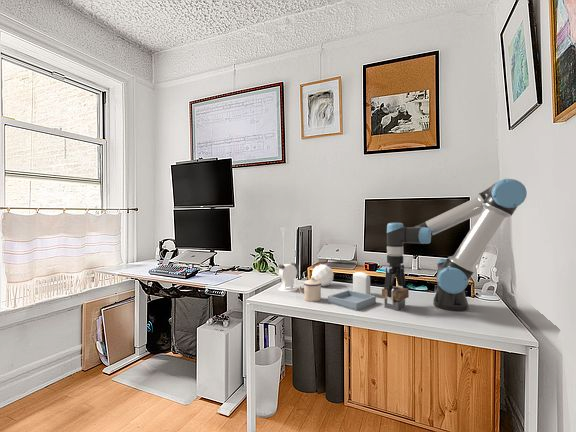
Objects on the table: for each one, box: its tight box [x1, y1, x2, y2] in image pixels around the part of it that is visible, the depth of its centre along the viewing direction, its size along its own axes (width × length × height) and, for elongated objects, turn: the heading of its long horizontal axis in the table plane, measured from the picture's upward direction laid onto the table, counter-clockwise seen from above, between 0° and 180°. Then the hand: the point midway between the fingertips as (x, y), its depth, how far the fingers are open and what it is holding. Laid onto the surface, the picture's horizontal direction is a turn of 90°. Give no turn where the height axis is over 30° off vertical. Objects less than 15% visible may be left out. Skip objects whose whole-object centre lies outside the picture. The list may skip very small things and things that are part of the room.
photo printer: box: [352, 271, 371, 295], centre depth 175 cm, size 10×4×12 cm, turn 39°
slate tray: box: [327, 289, 377, 312], centre depth 159 cm, size 17×17×4 cm
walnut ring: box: [381, 287, 410, 301], centre depth 153 cm, size 10×9×4 cm
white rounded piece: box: [277, 262, 298, 293], centre depth 187 cm, size 12×11×15 cm
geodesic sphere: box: [311, 263, 335, 287], centre depth 195 cm, size 14×14×14 cm
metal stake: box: [384, 285, 406, 311], centre depth 152 cm, size 7×7×10 cm
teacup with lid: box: [298, 276, 322, 303], centre depth 167 cm, size 12×9×12 cm
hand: (395, 301), depth 152 cm, fingers closed on walnut ring, 9 cm apart
